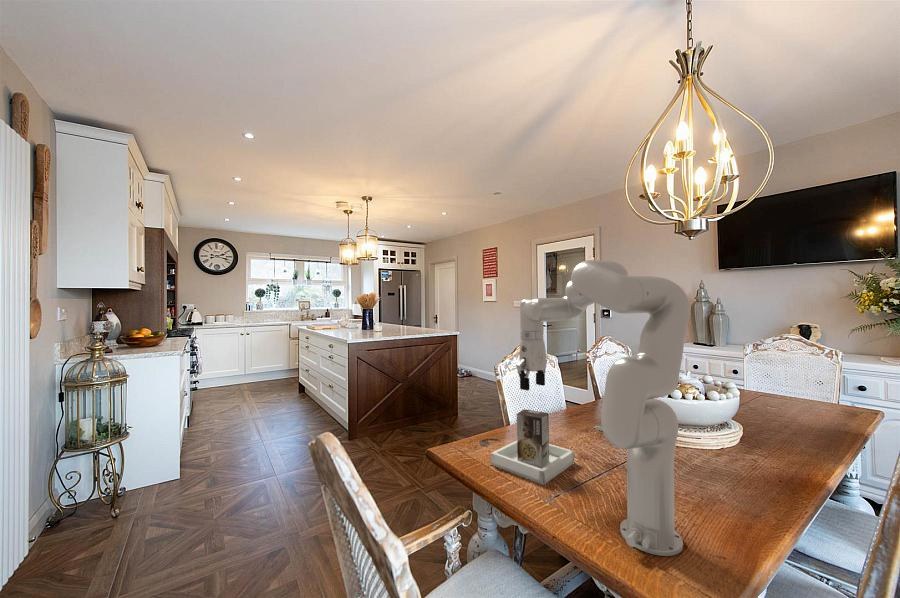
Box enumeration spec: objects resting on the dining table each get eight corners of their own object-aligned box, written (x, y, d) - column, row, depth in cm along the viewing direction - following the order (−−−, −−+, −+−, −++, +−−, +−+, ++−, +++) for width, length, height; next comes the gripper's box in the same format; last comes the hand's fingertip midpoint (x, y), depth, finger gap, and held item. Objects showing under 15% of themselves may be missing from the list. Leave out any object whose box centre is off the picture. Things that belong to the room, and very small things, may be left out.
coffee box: (549, 461, 122) (549, 412, 122) (542, 468, 117) (542, 417, 117) (524, 454, 128) (524, 408, 128) (516, 461, 122) (516, 413, 122)
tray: (543, 485, 108) (542, 471, 109) (491, 465, 122) (490, 453, 122) (574, 463, 123) (574, 451, 123) (524, 447, 137) (524, 436, 137)
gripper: (527, 338, 114) (528, 393, 114) (554, 334, 126) (555, 384, 126) (507, 337, 119) (508, 390, 119) (535, 334, 132) (536, 381, 131)
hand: (532, 387), depth 122 cm, fingers open, 9 cm apart
